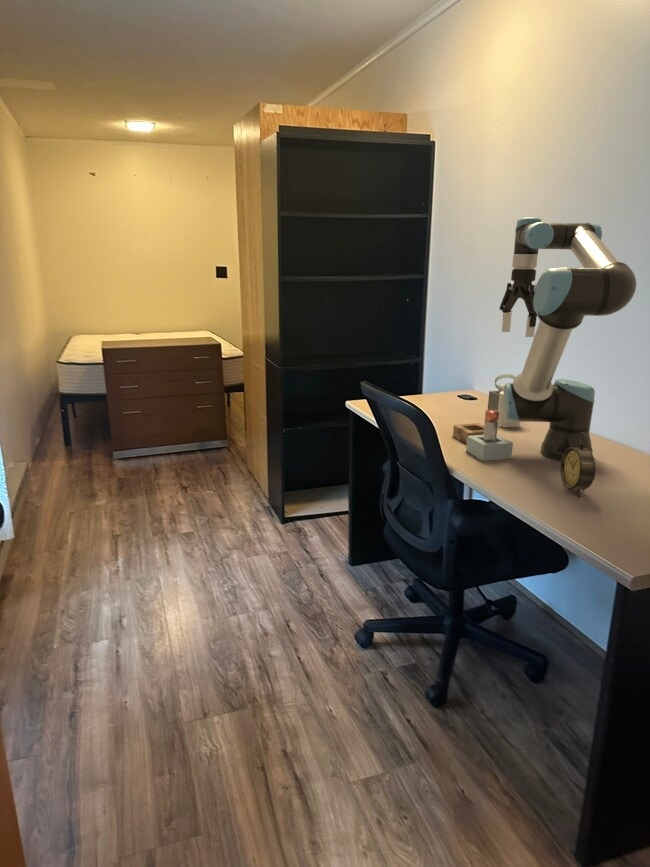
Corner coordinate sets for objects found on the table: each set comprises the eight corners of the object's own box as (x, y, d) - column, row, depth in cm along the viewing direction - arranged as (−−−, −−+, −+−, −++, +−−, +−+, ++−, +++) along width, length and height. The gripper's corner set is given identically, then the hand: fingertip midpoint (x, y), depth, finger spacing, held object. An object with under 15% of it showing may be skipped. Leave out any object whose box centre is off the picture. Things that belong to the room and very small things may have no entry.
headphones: (502, 410, 236) (492, 381, 221) (501, 402, 238) (492, 373, 223) (523, 407, 233) (515, 378, 217) (523, 399, 235) (515, 369, 219)
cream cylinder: (520, 428, 215) (524, 396, 211) (497, 427, 216) (501, 395, 212) (517, 422, 222) (521, 391, 219) (495, 421, 223) (498, 390, 220)
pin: (497, 456, 184) (501, 412, 180) (485, 457, 183) (490, 413, 179) (490, 452, 188) (494, 409, 184) (479, 453, 186) (483, 410, 182)
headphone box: (526, 416, 231) (529, 394, 228) (498, 418, 228) (501, 395, 225) (514, 411, 239) (516, 389, 236) (487, 413, 235) (489, 391, 233)
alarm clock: (556, 484, 162) (564, 426, 157) (575, 483, 162) (584, 426, 157) (575, 499, 151) (583, 439, 147) (595, 499, 151) (605, 438, 147)
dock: (511, 458, 182) (513, 442, 181) (482, 461, 179) (484, 445, 178) (493, 448, 191) (495, 433, 190) (465, 451, 188) (467, 436, 187)
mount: (494, 442, 198) (495, 430, 197) (467, 444, 195) (468, 432, 194) (478, 434, 207) (479, 423, 206) (452, 436, 204) (453, 424, 203)
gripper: (558, 269, 182) (550, 338, 188) (512, 267, 204) (505, 329, 210) (538, 269, 179) (530, 339, 186) (492, 267, 202) (487, 330, 208)
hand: (517, 334), depth 198 cm, fingers open, 13 cm apart
